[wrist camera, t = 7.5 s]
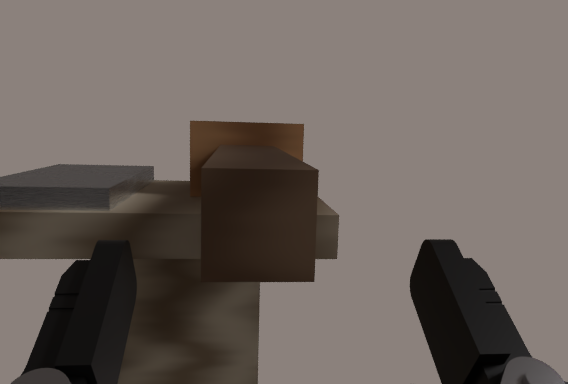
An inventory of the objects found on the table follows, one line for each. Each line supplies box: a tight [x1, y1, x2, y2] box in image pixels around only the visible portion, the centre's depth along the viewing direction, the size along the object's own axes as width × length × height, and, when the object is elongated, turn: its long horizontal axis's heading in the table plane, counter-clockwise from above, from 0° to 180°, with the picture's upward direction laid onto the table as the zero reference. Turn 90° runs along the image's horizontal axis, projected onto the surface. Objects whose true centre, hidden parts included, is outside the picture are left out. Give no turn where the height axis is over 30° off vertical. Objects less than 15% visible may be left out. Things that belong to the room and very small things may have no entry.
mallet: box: [190, 121, 319, 282], centre depth 21 cm, size 6×19×4 cm, turn 6°
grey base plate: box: [0, 164, 154, 211], centre depth 25 cm, size 6×11×1 cm, turn 6°
